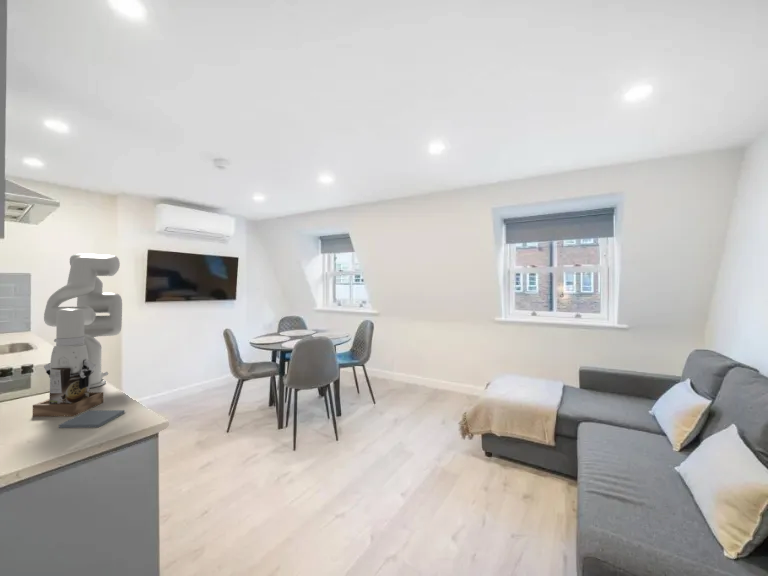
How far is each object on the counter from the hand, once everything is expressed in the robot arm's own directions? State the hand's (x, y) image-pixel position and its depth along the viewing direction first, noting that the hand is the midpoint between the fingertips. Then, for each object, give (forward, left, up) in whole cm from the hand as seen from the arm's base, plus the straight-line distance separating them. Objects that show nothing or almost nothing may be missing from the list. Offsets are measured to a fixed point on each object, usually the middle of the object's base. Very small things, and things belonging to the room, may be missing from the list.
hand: (70, 387), depth 121 cm
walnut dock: (0, 0, -8) cm, 8 cm away
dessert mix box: (0, 0, -8) cm, 8 cm away
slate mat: (+10, +16, -8) cm, 20 cm away
